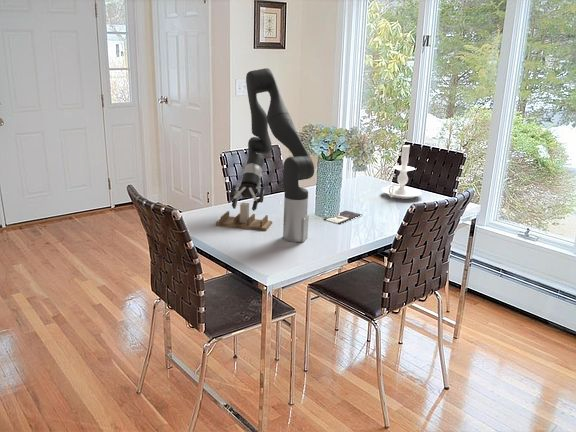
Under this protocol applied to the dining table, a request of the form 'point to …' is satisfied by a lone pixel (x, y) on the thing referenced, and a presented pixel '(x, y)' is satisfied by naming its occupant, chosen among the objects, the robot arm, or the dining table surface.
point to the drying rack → (250, 224)
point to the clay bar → (244, 212)
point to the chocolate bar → (343, 217)
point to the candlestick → (402, 179)
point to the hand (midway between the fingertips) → (243, 208)
